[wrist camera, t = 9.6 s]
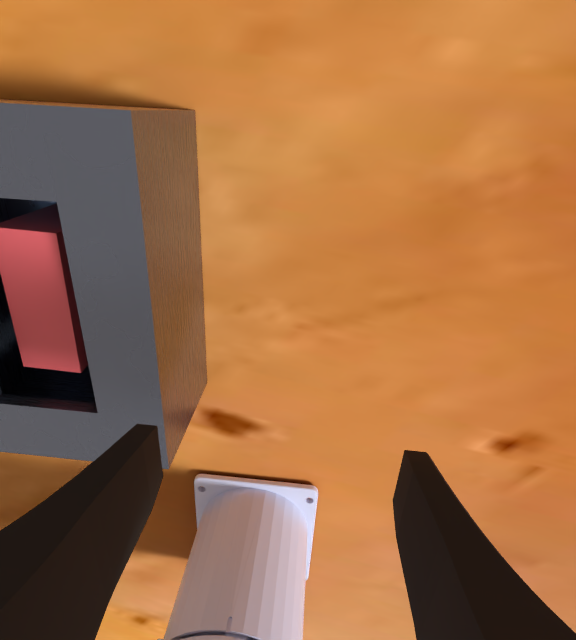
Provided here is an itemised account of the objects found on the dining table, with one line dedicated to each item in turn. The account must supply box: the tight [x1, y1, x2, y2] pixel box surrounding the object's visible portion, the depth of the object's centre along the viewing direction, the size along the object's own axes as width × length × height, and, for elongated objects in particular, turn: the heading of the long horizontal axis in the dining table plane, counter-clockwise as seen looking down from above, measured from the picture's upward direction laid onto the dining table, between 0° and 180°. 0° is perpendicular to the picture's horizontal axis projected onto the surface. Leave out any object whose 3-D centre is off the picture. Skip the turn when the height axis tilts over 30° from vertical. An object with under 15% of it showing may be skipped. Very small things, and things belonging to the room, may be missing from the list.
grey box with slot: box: [0, 99, 207, 469], centre depth 18 cm, size 14×10×6 cm
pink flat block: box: [0, 203, 88, 373], centre depth 19 cm, size 6×2×5 cm, turn 176°
